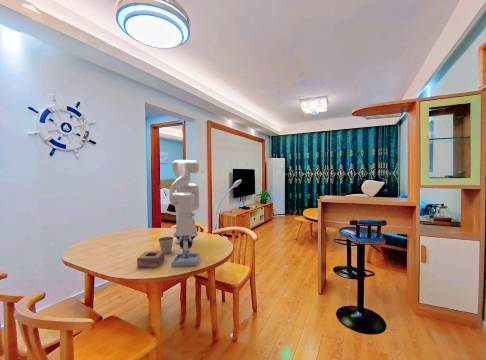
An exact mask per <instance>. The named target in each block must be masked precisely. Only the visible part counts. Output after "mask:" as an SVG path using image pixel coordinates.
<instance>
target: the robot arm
mask: <svg viewBox="0 0 486 360" xmlns="http://www.w3.org/2000/svg"><path fill="white" fill-rule="evenodd" d="M171 167H172V171H173V173H174V175H175V176H174V177H175V178H176V179H175V180H174V181H173V182H172V183H171V185H170V187H169V190H168V191H169V193H168V195H169V203H170V205H171V206H174V208H175V209H174V210H175V219H176V220H175V221H176V223H175V224H176V227H175V232H174V234H173V236H172V237H173V238H174V244H179V247H180V250H183V245H182V239H181V237H182V236H189V249H191V248H192V246H193V240H194V239H195V238H197V237H198V236H199V233H198V232H197V231H196V223H195V216H196V215H195V214H196V213H194V212H196V211H199V210H200V209H199V208H200V189H199V185H198V184H197V183H190V182H191V174H198V173H199V171H200V165H199V163H198V160H195V159H192V160H191V159H176V160H174V161H172V163H171Z"/></svg>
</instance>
